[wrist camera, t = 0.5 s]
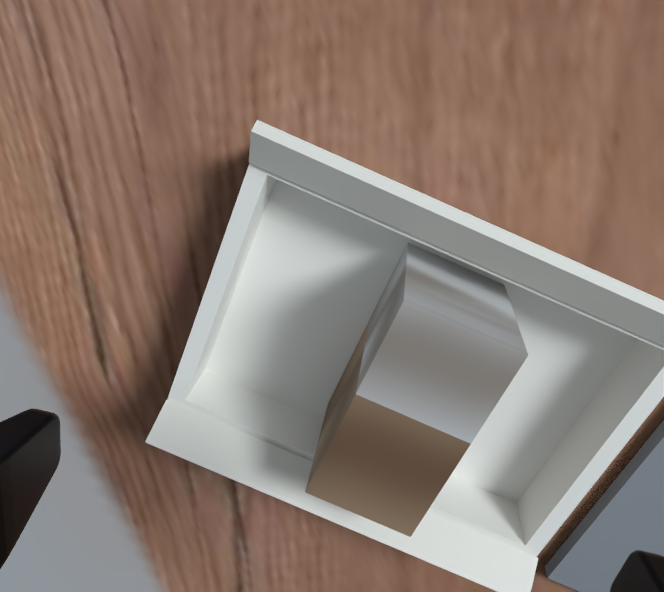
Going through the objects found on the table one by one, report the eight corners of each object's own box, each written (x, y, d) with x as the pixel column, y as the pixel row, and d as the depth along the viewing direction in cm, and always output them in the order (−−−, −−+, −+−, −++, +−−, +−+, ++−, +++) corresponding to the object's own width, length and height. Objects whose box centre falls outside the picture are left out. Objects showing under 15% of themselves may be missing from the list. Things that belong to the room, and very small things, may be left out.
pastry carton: (509, 529, 25) (523, 609, 21) (182, 390, 24) (143, 447, 21) (689, 287, 20) (745, 339, 16) (284, 106, 19) (254, 121, 16)
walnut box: (412, 440, 23) (410, 537, 19) (327, 403, 23) (304, 492, 19) (504, 284, 20) (528, 355, 16) (407, 242, 20) (403, 300, 16)
